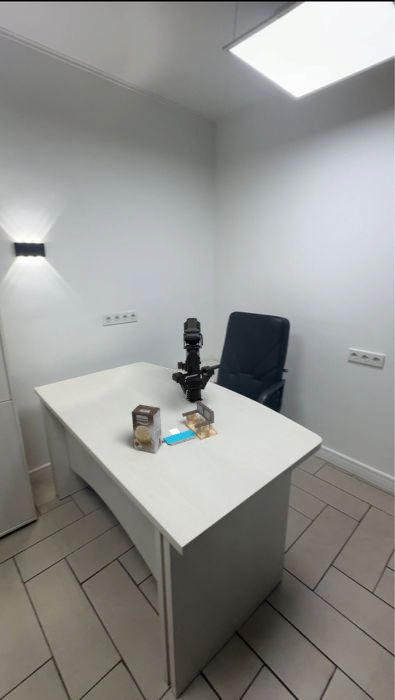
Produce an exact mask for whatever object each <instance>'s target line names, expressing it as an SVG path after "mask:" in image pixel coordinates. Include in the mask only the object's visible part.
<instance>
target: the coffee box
mask: <svg viewBox="0 0 395 700" xmlns="http://www.w3.org/2000/svg"><path fill="white" fill-rule="evenodd" d="M161 418H162V417H161V408H160V407H157V406H152V405H150V406H149V405H147V404H146V405H144V404H140V403H139V404H138V405H137V406H136V407H135V408H134V409H133V410H132V411H131V420H132V432H133V433H132V434H133V445H134V450H136V451H142V452H146V453H151V454H156V453H157V452H158V450H159V449H160V448H161V447H162V445H163V443H162V441H163V438H162V420H161Z"/></svg>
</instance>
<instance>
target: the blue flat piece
mask: <svg viewBox="0 0 395 700" xmlns="http://www.w3.org/2000/svg"><path fill="white" fill-rule="evenodd" d="M168 432H169V433H170V434H171V435H168V436H166V437H163V439H162V444H164V443H165V444H168V445H170V447H172V446H176V445H179V444H182V443H185V442H188V441H192V440H195V439H196V438H197V436H196V434H195V433H194V432H193V431H192V430H190V429H188V430H184V431H182V432H180V430H179V429H178V428H177V427H175V428H171V429H168Z"/></svg>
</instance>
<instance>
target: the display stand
mask: <svg viewBox="0 0 395 700" xmlns="http://www.w3.org/2000/svg"><path fill="white" fill-rule="evenodd" d="M197 416H198V415H197V413H196V414H192V415H188V416H185V419H186V421H185V422H184V425H185V426H186V427H187V428H188V430H192V431H193V432H194V433H195V434H196V438H198V439H199V440H205V439H207V438H210V437H214V436H217V435H218V430H216V429H215V428H214V427H213V426H211V424H209V425H206V426H202V427H199V428H195V424H198V423H202V422H205V421H207V420H206V419H205V418H204V417H202V416H201V415H200V417H199V418H197Z"/></svg>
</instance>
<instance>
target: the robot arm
mask: <svg viewBox="0 0 395 700" xmlns="http://www.w3.org/2000/svg"><path fill="white" fill-rule="evenodd" d="M201 326H202V325H201V322H200V321H199V320H198V318H196V317H188V318H186V321H185V322H183V334H182V336H183V338H182V339H183V350H185V352H186V353H185V354H186V355H185V361H184V362H183V361H178V362H177V366H176V367H177V369H178V370H181V371H184V372H185V373H183V372H181V371H176V372H174V373H172V375H171V380H172V381H174V382H175V383H177V384H178V385H179V386H180V387H181V389H182V392H183V394H184V395H186V400H188V402H190V403H191V404H192V403H193V404H194V403H197V401H201V402H202V401H203V400H204V399H203V398H202V391H204V390H205V389H206V387H207V385H208V383H209V381H210V379H211V378H212V377H213V376H214V375H216V374H215V373H216V372H215V369H214V367H212V366H210V365H206V366H205V365H204V366H202V367H201V365H202V361H201V356H200V355H201V354H200V349H202V348H203V346H204V336H203V334H202V332H201V328H202V327H201Z"/></svg>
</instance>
